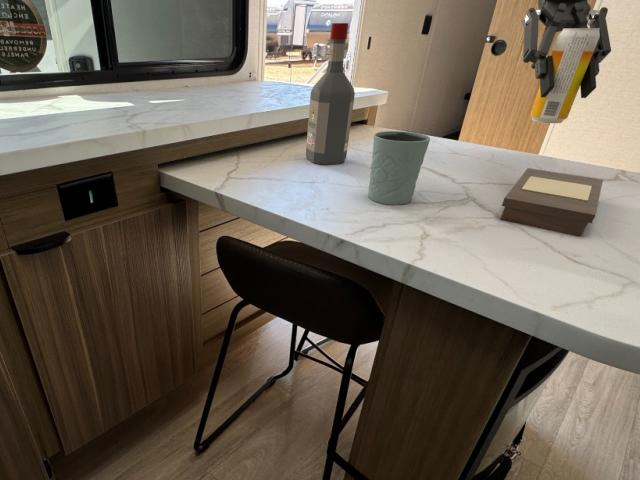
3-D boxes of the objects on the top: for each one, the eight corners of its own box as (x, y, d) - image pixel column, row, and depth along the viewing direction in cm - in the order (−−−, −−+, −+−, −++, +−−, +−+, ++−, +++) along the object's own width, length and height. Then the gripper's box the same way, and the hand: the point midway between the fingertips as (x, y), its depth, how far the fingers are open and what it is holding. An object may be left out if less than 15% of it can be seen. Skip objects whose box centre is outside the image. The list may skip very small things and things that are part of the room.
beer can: (562, 119, 81) (598, 28, 73) (567, 124, 77) (606, 28, 69) (527, 117, 84) (558, 28, 75) (530, 122, 79) (563, 28, 71)
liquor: (316, 165, 104) (329, 22, 88) (302, 156, 112) (313, 23, 95) (349, 163, 106) (368, 22, 90) (333, 154, 114) (349, 23, 97)
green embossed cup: (366, 204, 81) (377, 140, 74) (361, 188, 89) (370, 129, 83) (420, 207, 80) (436, 142, 73) (410, 190, 88) (423, 130, 82)
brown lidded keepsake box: (520, 186, 90) (527, 167, 88) (593, 199, 84) (603, 178, 81) (496, 219, 75) (504, 196, 72) (584, 238, 68) (596, 214, 66)
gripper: (602, 3, 81) (610, 107, 77) (498, 5, 84) (500, 105, 79) (633, -35, 74) (644, 77, 69) (518, -32, 77) (522, 76, 72)
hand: (567, 92), depth 74 cm, fingers closed on beer can, 6 cm apart
